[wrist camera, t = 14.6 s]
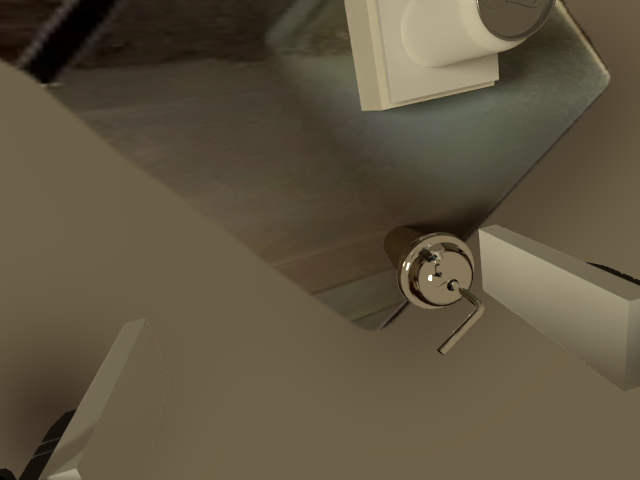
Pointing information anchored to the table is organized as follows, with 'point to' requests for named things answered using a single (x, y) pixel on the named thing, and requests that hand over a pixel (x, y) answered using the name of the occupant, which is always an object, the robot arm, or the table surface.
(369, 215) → the table surface
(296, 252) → the table surface
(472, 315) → the cup with straw
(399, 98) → the scale
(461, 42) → the can
